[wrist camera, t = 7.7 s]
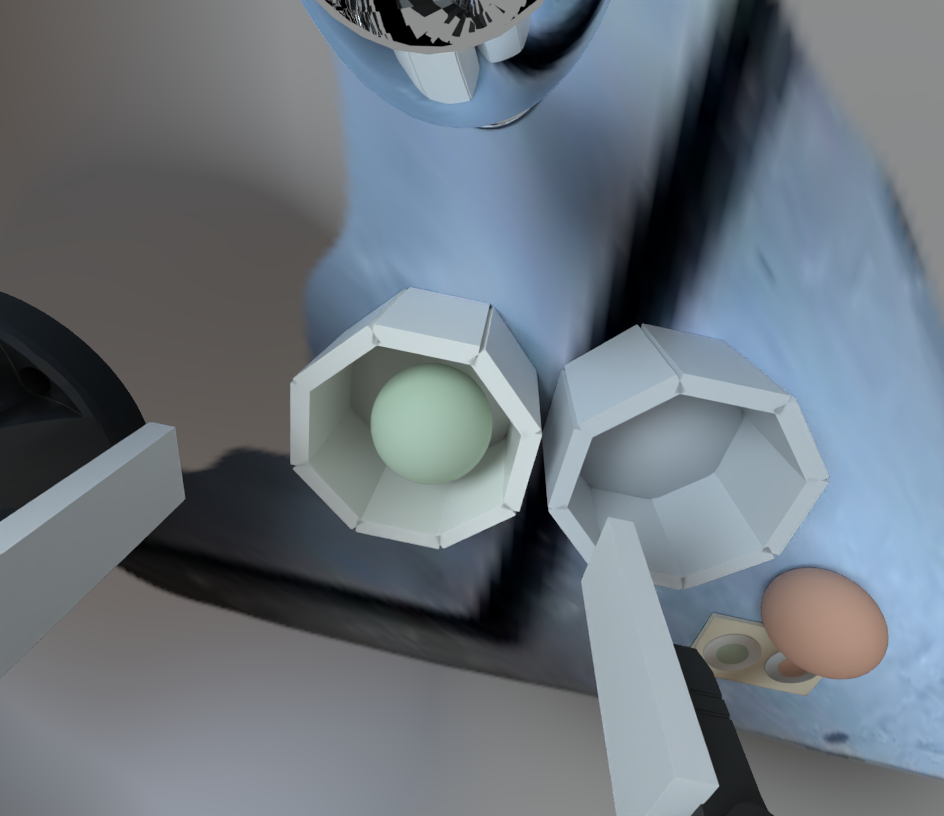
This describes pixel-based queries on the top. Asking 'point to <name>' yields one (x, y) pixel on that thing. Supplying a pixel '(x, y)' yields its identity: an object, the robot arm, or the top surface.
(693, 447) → the grey octagonal bowl
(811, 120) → the top surface
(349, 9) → the wineglass
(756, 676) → the card
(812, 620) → the terracotta ball
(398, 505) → the white octagonal bowl
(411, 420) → the sage ball
